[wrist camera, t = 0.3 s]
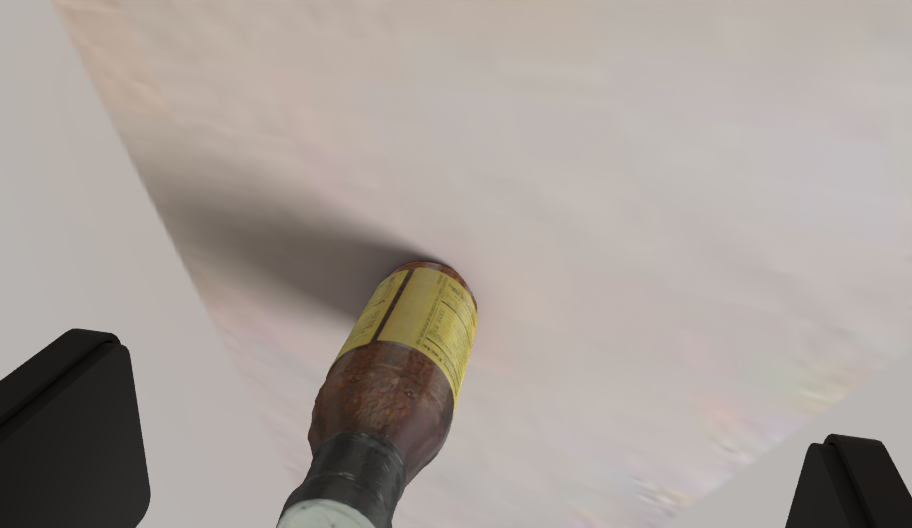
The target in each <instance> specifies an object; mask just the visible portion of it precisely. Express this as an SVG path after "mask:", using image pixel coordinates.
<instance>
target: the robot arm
mask: <svg viewBox="0 0 912 528" xmlns="http://www.w3.org/2000/svg"><path fill="white" fill-rule="evenodd" d="M149 503H150V485H149V478H148V473H147V466H146V458H145V452H144V445H143V439H142V432H141V425H140V419H139V412H138V405H137V398H136V392H135V385H134V378H133V372H132V365H131V359H130V353H129V350H128V349H127V347H126V346H124V345H121V343H120V340H119V339H118V337H117V336H116V335H114V334H112V333H107V332H99V331H92V330H85V329H71V330H69V331H67V332H65V333H64V334H63V335H61V336H60V337H59V338H57V339H56V340H55V341H54V342H52V343H51V344H49V345H48V346H47V347H45V348H44V349H43V350H41V351H40V352H39V353H37V354H36V355H34V356H33V357H32V358H30V359H29V360H28V361H26V362H25V363H24V364H22V365H21V366H20V367H18V368H17V369H16V370H14V371H13V372H12V373H10V374H9V375H8V376H6V377H5V378H4V379H2V380H1V381H0V528H136V526H137V525H138V524H139V522H140V521H141V520H142V519H143V517H144V515H145V514H146V511H147V509H148V506H149ZM785 528H912V497H911V495H910V493H909V491H908V489H907V488H906V486H905V484H904V482H903V480H902V478H901V476H900V474H899V472H898V470H897V469H896V467H895V465H894V463H893V461H892V459H891V457H890V456H889V453H888V452H887V450H886V448H885V446H884V445H883V444H882V442H881V441H878V440H873V439H866V438H859V437H852V436H845V435H838V434H830V435H828V436H827V438H826V439H825V441H824V443H823V444H818V443H812V444H811V445H810V446H809V448H808V450H807V453H806V456H805V460H804V463H803V467H802V470H801V474H800V477H799V481H798V485H797V488H796V491H795V495H794V499H793V502H792V505H791V509H790V513H789V516H788V520H787V523H786V527H785Z"/></svg>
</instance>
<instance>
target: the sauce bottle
mask: <svg viewBox="0 0 912 528" xmlns="http://www.w3.org/2000/svg"><path fill="white" fill-rule="evenodd" d="M476 314H477V304H476V301H475V299H474V296H473V294H472V292H471V291H470V288H469V287H468V285H467V284H466V283H465V281H464V280H463V279H462V278H461V277H460V275H459V274H458V273H457V272H456V271H454V270H453V269H451V268H448V267H445V266H443V265H441V264H435V263H431V262H421V261H419V262H417V261H414V262H411V263H407V264H404V265H402V266H401V267H399V268H397V269H396V270H395V271H394V272H393V273H391V274H390V275H389V276H388V277H387V278H386V279H385V280H383V282H381V283H380V284H379V286H378V287H377V288H376V290H375V292H374V293H373V295H372V297H371V299H370V300H369V302H368V304H367V305H366V307H365V309H364V310H363V312H362V314H361V316H360V318H359V319H358V321H357V323H356V325H355V326H354V328H353V330H352V332H351V333H350V335H349V337H348V339H347V340H346V342H345V344H344V345H343V347H342V349H341V350H340V352H339V354H338V356H337V357H336V359H335V361H334V363H333V364H332V366H331V368H330V369H329V372H328V374H327V377H326V381H325V383H324V384H323V386H322V387H321V388H320V390H319V393H318V395H317V397H316V400H315V405H314V408H313V411H312V423H311V426H310V429H309V432H308V441H309V443H310V446H311V451H312V455H313V460H312V463H311V467H310V469H309V472H308V474H307V476H306V478H305V480H304V481H303V483H302V484H301V485H300V486H299V487H298V488H296V489H295V490H294V491H293V492H292V493H291V495H290V496H289V498H288V499H287V501H286V503H285V505H284V507H283V510H282V513H281V515H280V518H279V521H278V524H277V526H276V528H392V523H391V521H392V518H393V514H394V511H395V508H396V505H397V502H398V501H399V500H400V498H401V496H402V494H403V492H404V489H405V487H406V486H407V485H408V484H409V483H410V482H411V480H412V479H413V478H414V477H415V476H416V475H417V474H418V473H419V472H420V471H421V470H422V469H423V468H424V467H425V466H426V465H428V464H429V463H430V462H431V461H432V460H433V459H434V458H435V457H436V456H437V454H438V452H439V451H440V449H441V448H442V446H443V445H444V443H445V441H446V438H447V436H448V433H449V431H450V427H451V423H452V420H453V416H454V412H455V408H456V404H457V400H458V396H459V392H460V389H461V385H462V381H463V378H464V374H465V371H466V367H467V363H468V359H469V355H470V352H471V348H472V345H473V341H474V337H475V333H476V328H477V315H476Z"/></svg>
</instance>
